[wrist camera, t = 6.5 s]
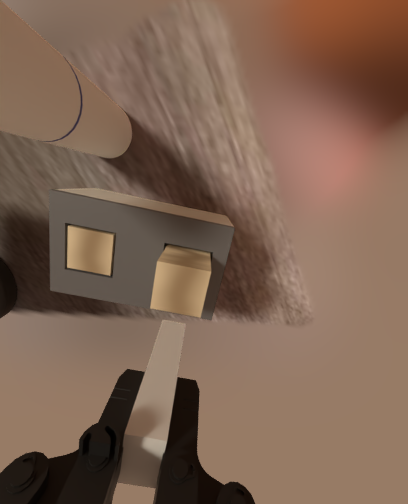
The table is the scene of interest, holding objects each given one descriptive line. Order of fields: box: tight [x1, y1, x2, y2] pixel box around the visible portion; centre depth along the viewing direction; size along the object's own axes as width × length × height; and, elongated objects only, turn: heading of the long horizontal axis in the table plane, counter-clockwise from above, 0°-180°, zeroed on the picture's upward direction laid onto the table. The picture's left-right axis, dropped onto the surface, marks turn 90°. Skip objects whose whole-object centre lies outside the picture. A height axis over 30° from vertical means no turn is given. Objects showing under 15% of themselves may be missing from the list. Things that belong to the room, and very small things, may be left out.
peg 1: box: [67, 224, 116, 276], centre depth 28 cm, size 5×5×8 cm
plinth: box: [49, 188, 235, 320], centre depth 29 cm, size 20×12×10 cm, turn 78°
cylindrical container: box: [0, 0, 132, 158], centre depth 18 cm, size 7×7×25 cm
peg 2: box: [150, 244, 211, 318], centre depth 24 cm, size 5×5×8 cm
